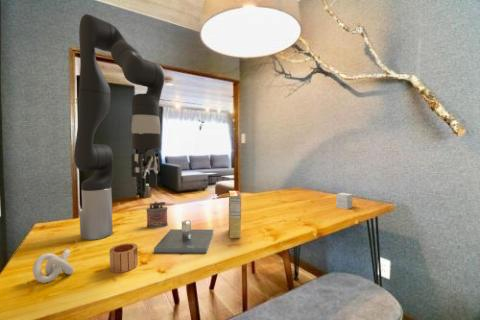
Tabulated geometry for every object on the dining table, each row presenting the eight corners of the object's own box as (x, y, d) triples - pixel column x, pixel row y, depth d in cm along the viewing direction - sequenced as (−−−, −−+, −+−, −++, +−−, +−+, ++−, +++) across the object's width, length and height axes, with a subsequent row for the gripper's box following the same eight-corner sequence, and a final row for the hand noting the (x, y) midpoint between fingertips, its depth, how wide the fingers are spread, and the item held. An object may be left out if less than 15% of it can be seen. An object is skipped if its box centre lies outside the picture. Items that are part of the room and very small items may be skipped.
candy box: (228, 229, 90) (228, 190, 89) (239, 229, 90) (239, 190, 90) (229, 238, 81) (229, 195, 80) (241, 238, 82) (241, 195, 81)
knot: (84, 270, 60) (83, 248, 60) (53, 288, 53) (52, 263, 52) (62, 266, 62) (61, 245, 62) (28, 283, 55) (27, 259, 54)
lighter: (146, 228, 92) (145, 203, 91) (147, 225, 95) (146, 201, 94) (167, 226, 94) (167, 202, 93) (167, 223, 97) (167, 200, 96)
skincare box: (341, 205, 127) (341, 192, 127) (352, 207, 122) (352, 194, 122) (335, 207, 123) (336, 193, 123) (347, 209, 119) (347, 195, 118)
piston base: (154, 252, 70) (153, 230, 70) (170, 233, 86) (170, 214, 86) (206, 253, 70) (206, 230, 70) (213, 233, 86) (213, 215, 86)
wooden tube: (104, 272, 59) (104, 253, 59) (118, 260, 66) (118, 243, 65) (130, 273, 59) (129, 253, 59) (141, 260, 65) (141, 243, 65)
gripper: (143, 134, 72) (144, 185, 73) (120, 130, 58) (121, 194, 59) (167, 134, 72) (168, 185, 73) (150, 130, 58) (151, 194, 59)
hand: (147, 189), depth 66 cm, fingers open, 8 cm apart
